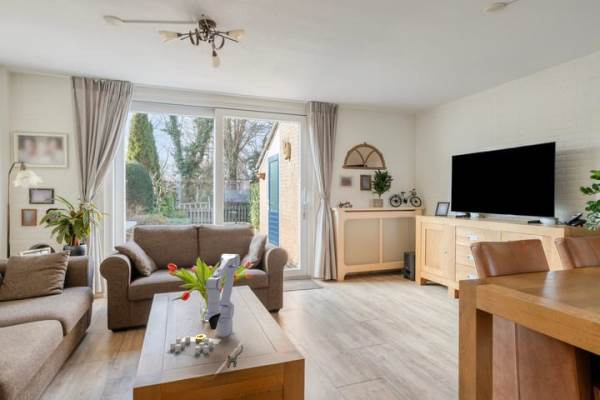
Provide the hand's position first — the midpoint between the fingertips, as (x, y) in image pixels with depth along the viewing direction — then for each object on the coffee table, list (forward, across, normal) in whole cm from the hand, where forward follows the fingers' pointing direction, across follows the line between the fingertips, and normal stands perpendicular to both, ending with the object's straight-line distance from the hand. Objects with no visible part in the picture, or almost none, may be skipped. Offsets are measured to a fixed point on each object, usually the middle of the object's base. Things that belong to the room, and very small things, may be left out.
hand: (213, 329), depth 160 cm
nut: (+8, -4, -9) cm, 13 cm away
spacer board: (+9, +2, -9) cm, 13 cm away
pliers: (+10, +5, +14) cm, 17 cm away
